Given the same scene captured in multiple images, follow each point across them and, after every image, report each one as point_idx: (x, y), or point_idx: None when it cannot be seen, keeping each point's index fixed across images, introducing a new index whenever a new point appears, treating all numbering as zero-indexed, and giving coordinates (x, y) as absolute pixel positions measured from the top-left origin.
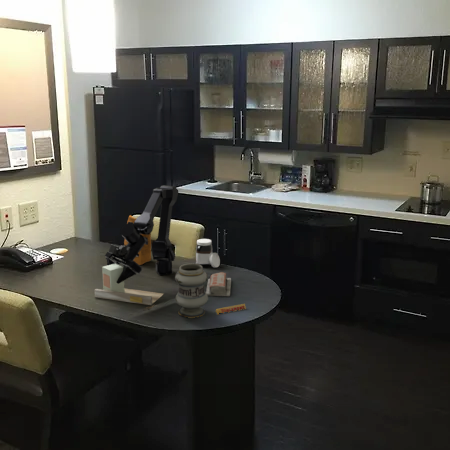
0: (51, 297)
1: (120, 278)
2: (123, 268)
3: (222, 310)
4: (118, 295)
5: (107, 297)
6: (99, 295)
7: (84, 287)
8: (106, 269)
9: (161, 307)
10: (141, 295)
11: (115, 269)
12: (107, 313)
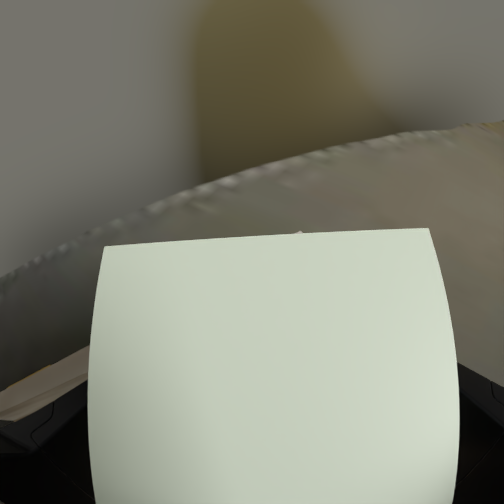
0: (433, 149)
1: (86, 386)
2: (2, 450)
3: None
4: None
5: None
6: None
7: (496, 302)
8: (253, 243)
9: None
10: (10, 400)
11: (92, 371)
12: (107, 239)
